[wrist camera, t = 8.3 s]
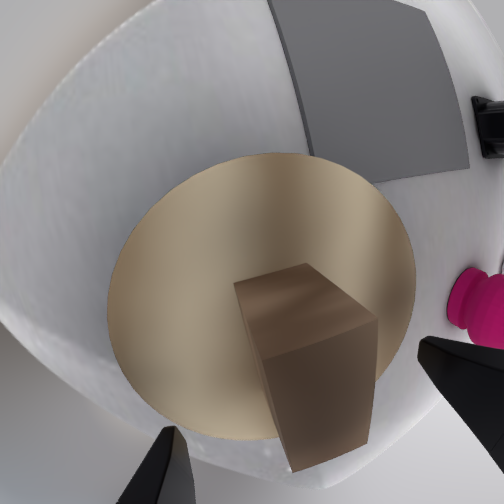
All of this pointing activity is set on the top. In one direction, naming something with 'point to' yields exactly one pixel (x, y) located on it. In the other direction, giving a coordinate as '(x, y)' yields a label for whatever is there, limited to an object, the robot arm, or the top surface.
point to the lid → (265, 303)
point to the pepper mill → (479, 307)
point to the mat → (372, 87)
